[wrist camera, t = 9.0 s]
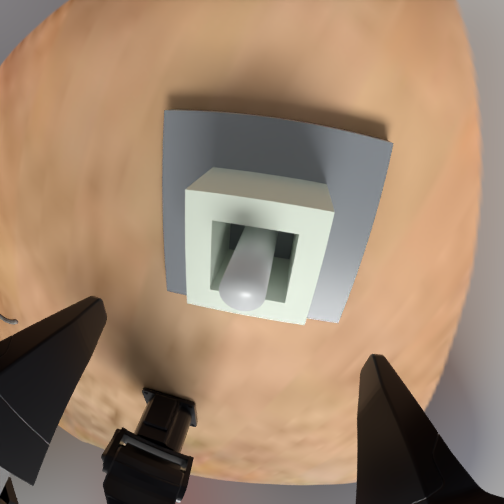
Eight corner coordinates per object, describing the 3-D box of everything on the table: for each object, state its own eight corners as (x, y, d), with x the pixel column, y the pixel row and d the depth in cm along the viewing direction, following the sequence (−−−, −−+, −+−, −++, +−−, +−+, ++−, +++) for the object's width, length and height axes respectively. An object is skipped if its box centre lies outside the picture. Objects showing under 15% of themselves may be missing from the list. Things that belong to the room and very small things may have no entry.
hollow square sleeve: (305, 279, 17) (304, 325, 14) (208, 262, 18) (187, 303, 14) (326, 184, 14) (334, 212, 11) (212, 167, 15) (185, 189, 11)
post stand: (337, 313, 19) (343, 396, 13) (172, 282, 20) (128, 352, 14) (387, 140, 13) (445, 172, 7) (172, 109, 14) (94, 122, 8)
